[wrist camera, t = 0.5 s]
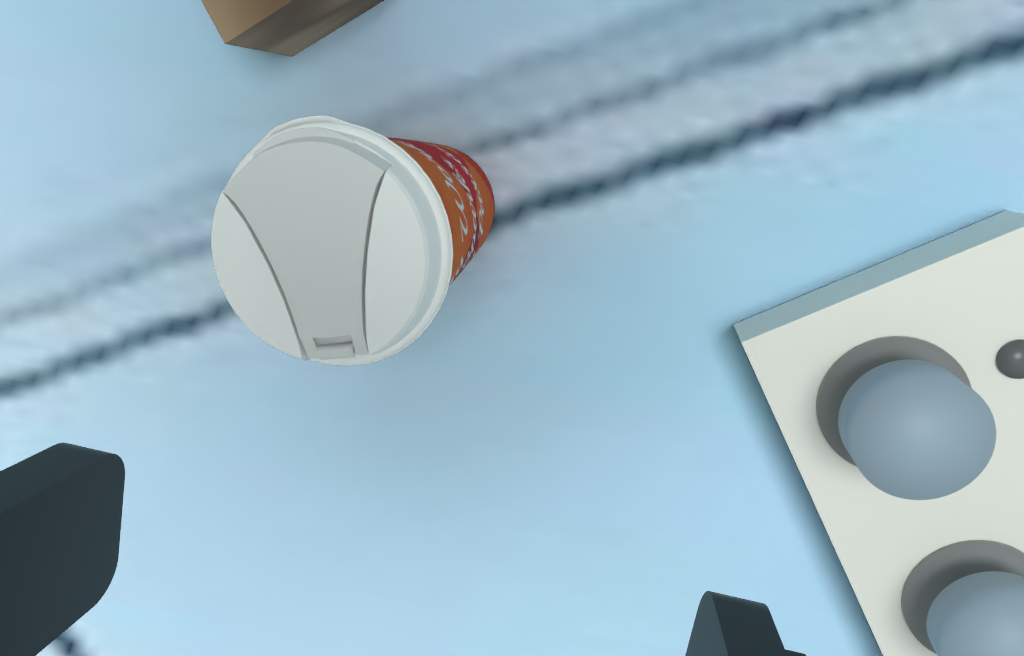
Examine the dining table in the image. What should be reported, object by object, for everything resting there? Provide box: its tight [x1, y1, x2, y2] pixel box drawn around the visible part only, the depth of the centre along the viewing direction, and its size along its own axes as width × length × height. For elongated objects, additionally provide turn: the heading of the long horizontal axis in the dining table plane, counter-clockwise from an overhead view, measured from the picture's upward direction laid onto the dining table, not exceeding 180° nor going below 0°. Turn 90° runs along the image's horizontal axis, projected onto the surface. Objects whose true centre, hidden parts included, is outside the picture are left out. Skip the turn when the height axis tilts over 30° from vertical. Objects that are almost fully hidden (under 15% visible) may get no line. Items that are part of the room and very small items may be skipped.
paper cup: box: [211, 115, 494, 366], centre depth 29 cm, size 8×8×14 cm
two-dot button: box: [926, 571, 1024, 656], centre depth 31 cm, size 5×5×2 cm
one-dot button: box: [838, 359, 996, 500], centre depth 29 cm, size 5×5×2 cm
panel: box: [733, 210, 1024, 656], centre depth 34 cm, size 12×30×3 cm, turn 27°
